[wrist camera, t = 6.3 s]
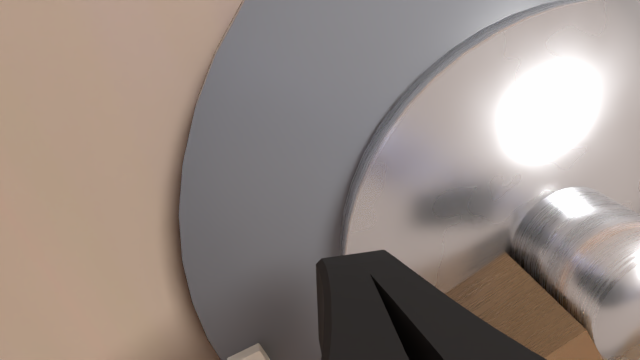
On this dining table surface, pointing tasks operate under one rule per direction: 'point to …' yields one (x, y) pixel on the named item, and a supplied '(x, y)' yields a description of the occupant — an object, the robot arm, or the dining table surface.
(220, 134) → the dial base
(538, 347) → the dial
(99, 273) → the dining table surface
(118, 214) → the dining table surface
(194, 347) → the dining table surface
